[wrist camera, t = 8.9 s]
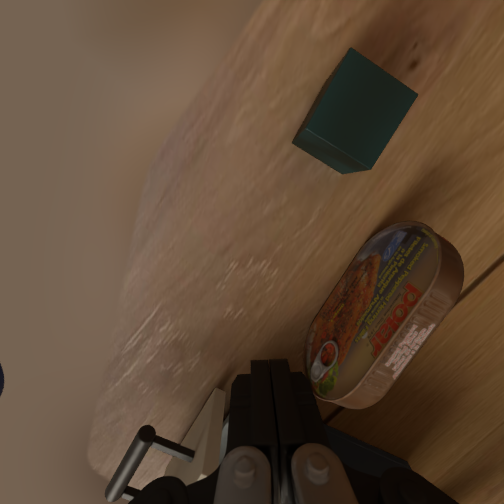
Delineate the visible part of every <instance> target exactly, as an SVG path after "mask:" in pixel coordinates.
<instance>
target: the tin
mask: <svg viewBox="0 0 504 504" xmlns="http://www.w3.org/2000/svg"><path fill="white" fill-rule="evenodd" d="M463 281H464V267H463V262H462V259H461V256H460V254H459V253H458V251H457V250H456V248H455V247H454V246H453V245H452V244H451V243H450V242H449V241H447V240H446V239H445V238H443V237H441V236H440V235H438V234H437V233H435V232H434V231H433V230H432V229H431V228H430V227H429V226H427V225H426V224H424V223H421V222H417V221H404V222H399V223H396V224H393V225H391V226H388V227H386V228H384V229H383V230H381V231H380V232H378V233H377V234H375V235H374V236H373V237H372V238H371V239H370V240H368V241H367V242H366V243H365V245H364V246H363V247H362V248H361V249H360V251H359V252H358V253H357V255H356V256H355V258H354V259H353V261H352V262H351V264H350V266H349V267H348V269H347V270H346V272H345V273H344V275H343V276H342V278H341V279H340V281H339V283H338V284H337V286H336V287H335V289H334V290H333V292H332V293H331V295H330V296H329V298H328V299H327V301H326V302H325V304H324V305H323V307H322V308H321V310H320V311H319V313H318V315H317V316H316V318H315V319H314V321H313V323H312V325H311V327H310V329H309V332H308V335H307V338H306V342H305V346H304V354H303V367H304V375H305V376H306V378H307V379H308V380H309V381H310V384H311V387H312V390H313V394H314V395H315V396H316V397H318V398H319V399H321V400H324V401H328V402H332V403H335V404H337V405H340V406H343V407H346V408H350V409H363V408H367V407H370V406H372V405H374V404H375V403H377V402H378V401H379V400H380V399H382V398H383V397H384V396H385V394H386V393H387V392H388V391H389V390H390V388H391V387H392V386H393V384H394V383H395V382H396V381H397V379H398V378H399V377H400V375H401V374H402V373H403V371H404V370H405V369H406V368H407V366H408V365H409V364H410V362H411V361H412V360H413V358H414V357H415V356H416V354H417V353H418V352H419V351H420V349H421V348H422V347H423V345H424V344H425V343H426V341H427V340H428V339H429V337H430V336H431V335H432V334H433V332H434V331H435V330H436V328H437V327H438V326H439V324H440V323H441V322H442V321H443V319H444V318H445V317H446V315H447V314H448V313H449V311H450V310H451V309H452V307H453V306H454V305H455V303H456V301H457V299H458V297H459V295H460V292H461V289H462V286H463Z"/></svg>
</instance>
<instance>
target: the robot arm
mask: <svg viewBox="0 0 504 504" xmlns="http://www.w3.org/2000/svg"><path fill="white" fill-rule="evenodd" d="M278 480H279V483H278ZM279 489H280V499H281V504H459V503H458V502H456V501H455V500H453V499H452V498H451V497H449V496H448V495H447V494H445V493H444V492H443V491H441V490H440V489H438V488H437V487H436V486H434V485H433V484H432V483H430V482H429V481H428V480H426V479H425V478H424V477H422V476H421V475H419V474H418V473H416V472H414V471H412V470H409V469H406V468H402V467H392V468H389V469H387V470H385V471H384V473H383V474H382V476H381V478H380V477H376V476H373V475H370V474H366V473H363V472H360V471H357V470H355V469H353V468H351V467H349V466H348V465H346V464H345V463H343V462H342V461H341V460H340V459H339V458H338V456H337V455H336V454H335V453H334V451H333V450H332V448H331V446H330V443H329V440H328V437H327V434H326V431H325V428H324V424H323V421H322V418H321V415H320V412H319V409H318V406H317V404H316V399H315V396H314V394H313V390H312V387H311V384H310V381H309V380H308V379H307V378H306V376H305V375H304V374H303V373H302V372H290V369H289V364H288V360H287V359H269V363H268V360H251V374H239V375H237V377H236V379H235V380H234V382H233V383H232V388H231V400H230V412H229V423H228V435H227V447H226V453H225V456H224V458H223V460H222V462H221V464H220V465H219V467H218V468H217V469H216V470H215V471H214V472H213V473H212V474H210V475H209V476H207V477H205V478H203V479H201V480H199V481H196V482H194V483H191V484H189V485H187V486H186V485H185V484H184V482H183V481H182V480H181V479H179V478H177V477H174V476H163V477H160V478H157V479H155V480H153V481H152V482H150V483H149V484H148V485H146V486H145V487H144V488H143V489H142V490H141V491H140V492H139V493H138V494H137V495H136V496H135V497H134V498H133V499H132V500H131V501H130V502H129V503H128V504H279Z"/></svg>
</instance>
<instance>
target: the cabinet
mask: <svg viewBox="0 0 504 504" xmlns="http://www.w3.org/2000/svg"><path fill="white" fill-rule="evenodd" d="M324 428H325V431H326V434H327V437H328V440H329V443H330V446H331V448H332V450H333V451H334V453H335V454H336V455H337V456H338V458H339V459H340V460H341V461H342V462H343V463H345V464H346V465H348V466H349V467H351V468H353V469H355V470H357V471H360V472H363V473H366V474H370V475H373V476H376V477H380V478H381V476H382V474H383V473H384V471H385V470H387V469H389V468H392V467H402V468H406V469H409V470H411V468H410V466H409V464H408V462H407V461H405V460H402V459H400V458H398V457H396V456H394V455H391V454H389V453H387V452H385V451H383V450H380V449H378V448H376V447H374V446H372V445H369V444H367V443H365V442H363V441H361V440H358V439H356V438H354V437H352V436H350V435H347V434H345V433H343V432H341V431H339V430H336V429H334V428H332V427H330V426H328V425H325V424H324Z"/></svg>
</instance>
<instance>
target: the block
mask: <svg viewBox="0 0 504 504" xmlns="http://www.w3.org/2000/svg"><path fill="white" fill-rule="evenodd" d="M417 96H418V94H417V93H416V92H414V91H413V90H411V89H410V88H409V87H407V86H406V85H404V84H403V83H401V82H400V81H399V80H397V79H396V78H394V77H393V76H391V75H390V74H389V73H387V72H386V71H384V70H383V69H381V68H380V67H379V66H377V65H376V64H374V63H373V62H371V61H370V60H369V59H367V58H366V57H364V56H363V55H361V54H360V53H359V52H357V51H356V50H354V49H353V48H350V49H349V50H348V51H347V53H346V54H345V56H344V57H343V58H342V60H341V61H340V63H339V64H338V65H337V67H336V68H335V69H334V71H333V72H332V74H331V75H330V76H329V78H328V79H327V80H326V82H325V83H324V85H323V87H322V89H321V91H320V92H319V94H318V96H317V98H316V100H315V101H314V103H313V105H312V107H311V109H310V110H309V112H308V114H307V116H306V118H305V119H304V121H303V123H302V125H301V127H300V129H299V130H298V132H297V134H296V136H295V138H294V139H293V141H292V143H293V144H294V145H296V146H297V147H299V148H301V149H302V150H304V151H305V152H307V153H309V154H310V155H312V156H314V157H315V158H317V159H318V160H320V161H322V162H323V163H325V164H327V165H328V166H330V167H331V168H333V169H335V170H336V171H338V172H340V173H341V174H347V173H353V172H359V171H365V170H371V169H372V167H373V165H374V164H375V162H376V161H377V159H378V158H379V156H380V154H381V153H382V151H383V150H384V148H385V147H386V145H387V143H388V142H389V140H390V139H391V137H392V135H393V134H394V132H395V131H396V129H397V128H398V126H399V124H400V123H401V121H402V120H403V118H404V117H405V115H406V113H407V112H408V110H409V109H410V107H411V106H412V104H413V102H414V101H415V99H416V98H417Z"/></svg>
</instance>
